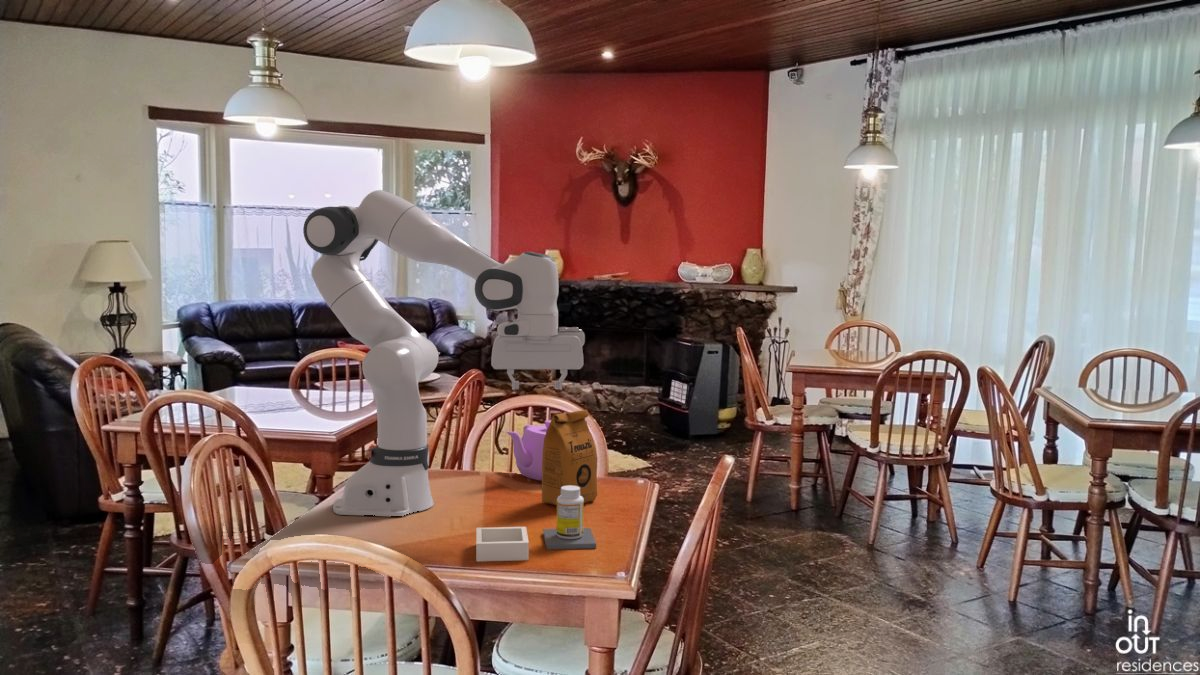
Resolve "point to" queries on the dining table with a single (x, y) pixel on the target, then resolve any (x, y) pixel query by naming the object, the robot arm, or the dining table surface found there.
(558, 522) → the supplement bottle
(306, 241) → the robot arm
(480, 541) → the pocket
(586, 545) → the coaster
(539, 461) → the teapot
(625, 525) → the dining table surface
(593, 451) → the coffee package
